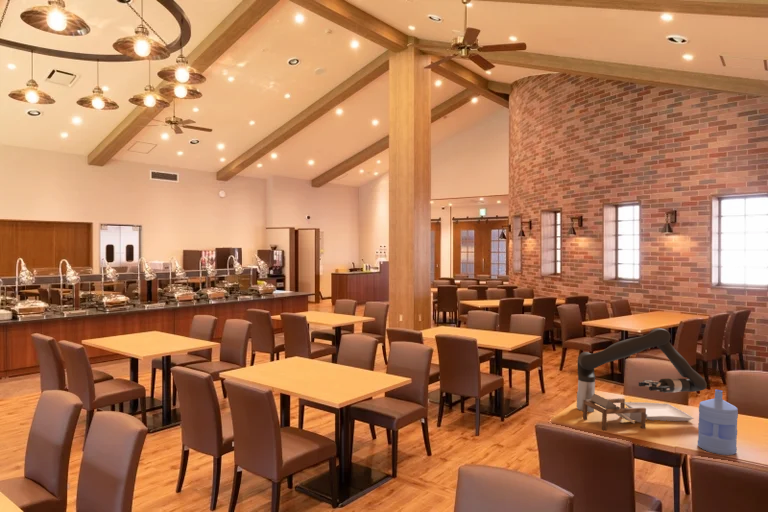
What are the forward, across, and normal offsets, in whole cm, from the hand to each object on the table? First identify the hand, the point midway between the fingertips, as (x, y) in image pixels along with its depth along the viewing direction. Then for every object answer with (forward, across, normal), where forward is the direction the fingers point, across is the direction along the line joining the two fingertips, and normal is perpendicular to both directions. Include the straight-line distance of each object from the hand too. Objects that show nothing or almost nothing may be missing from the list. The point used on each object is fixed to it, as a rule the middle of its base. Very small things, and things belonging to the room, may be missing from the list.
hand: (644, 386), depth 285 cm
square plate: (-17, -10, +20) cm, 28 cm away
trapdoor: (+20, 0, +13) cm, 24 cm away
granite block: (+10, 0, +14) cm, 17 cm away
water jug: (-9, +40, +20) cm, 45 cm away
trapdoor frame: (+18, 0, +20) cm, 27 cm away
